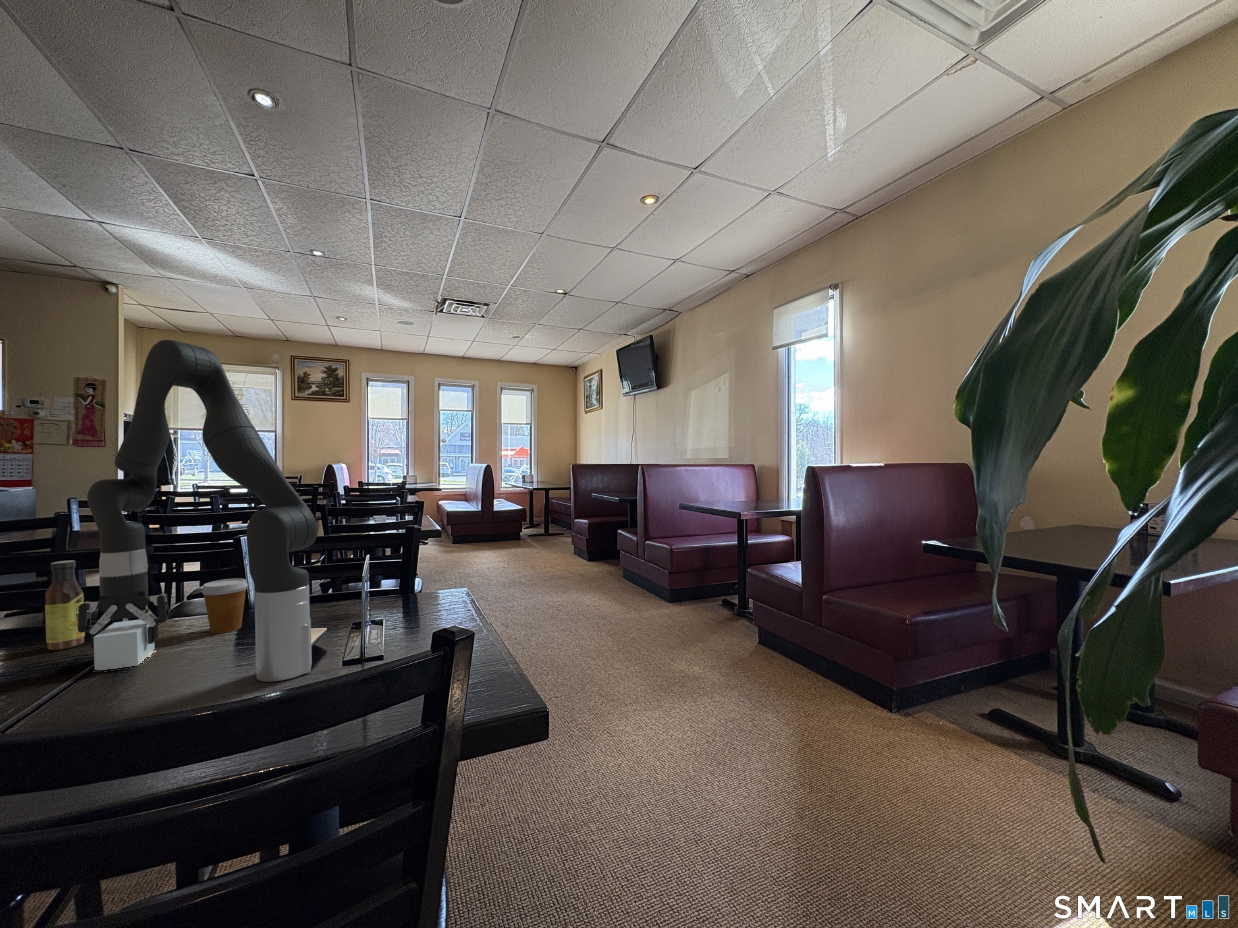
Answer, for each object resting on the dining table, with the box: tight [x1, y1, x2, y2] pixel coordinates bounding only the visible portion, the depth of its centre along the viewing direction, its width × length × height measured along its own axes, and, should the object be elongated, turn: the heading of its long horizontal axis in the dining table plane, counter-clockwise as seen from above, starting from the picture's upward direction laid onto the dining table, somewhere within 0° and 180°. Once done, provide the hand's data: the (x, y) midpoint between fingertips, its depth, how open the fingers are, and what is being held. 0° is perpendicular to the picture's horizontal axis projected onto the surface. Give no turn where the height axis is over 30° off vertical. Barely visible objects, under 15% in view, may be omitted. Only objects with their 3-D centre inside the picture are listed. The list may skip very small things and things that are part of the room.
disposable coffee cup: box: [201, 578, 249, 634], centre depth 133 cm, size 10×10×12 cm
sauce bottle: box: [44, 559, 86, 651], centre depth 122 cm, size 7×6×20 cm
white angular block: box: [93, 619, 156, 670], centre depth 113 cm, size 7×11×7 cm, turn 28°
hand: (126, 646), depth 113 cm, fingers open, 8 cm apart
